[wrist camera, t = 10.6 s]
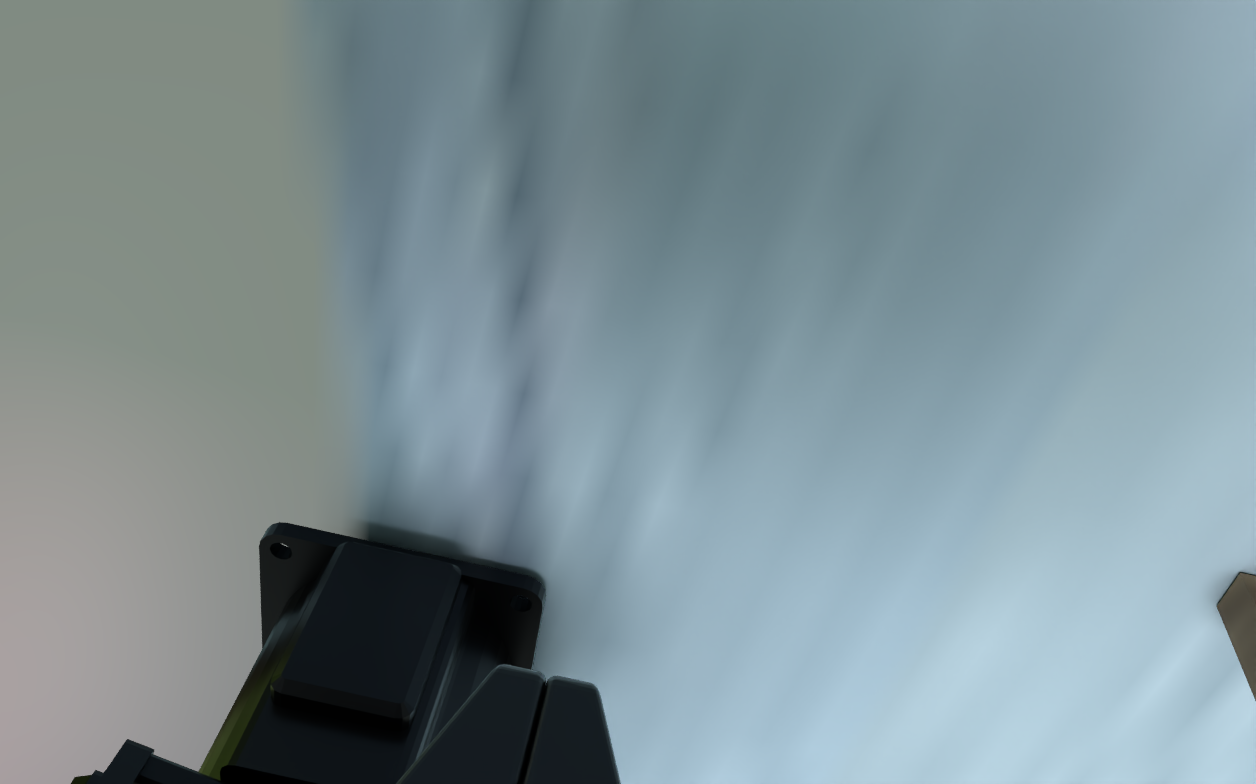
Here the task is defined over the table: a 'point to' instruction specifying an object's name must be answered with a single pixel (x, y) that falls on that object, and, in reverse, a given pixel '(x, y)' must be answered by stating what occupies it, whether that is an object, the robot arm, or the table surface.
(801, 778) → the table surface
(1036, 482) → the table surface
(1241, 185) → the table surface
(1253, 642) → the mounting bracket
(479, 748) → the robot arm
